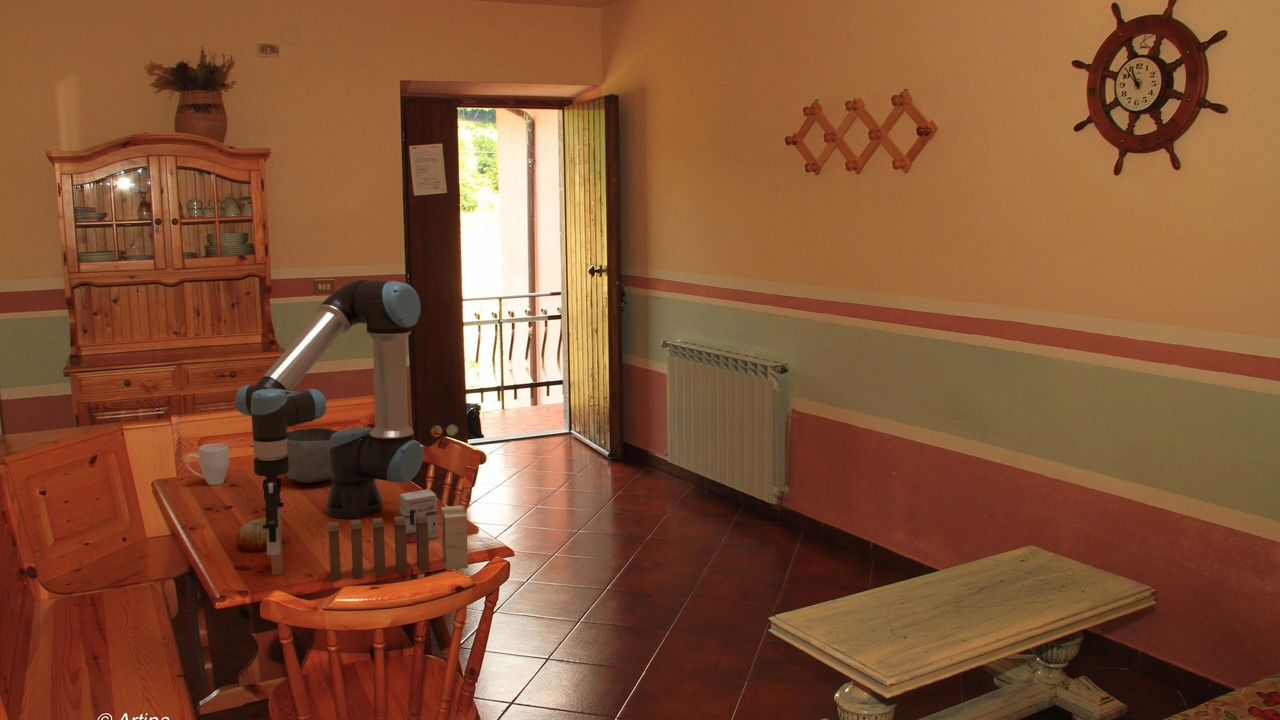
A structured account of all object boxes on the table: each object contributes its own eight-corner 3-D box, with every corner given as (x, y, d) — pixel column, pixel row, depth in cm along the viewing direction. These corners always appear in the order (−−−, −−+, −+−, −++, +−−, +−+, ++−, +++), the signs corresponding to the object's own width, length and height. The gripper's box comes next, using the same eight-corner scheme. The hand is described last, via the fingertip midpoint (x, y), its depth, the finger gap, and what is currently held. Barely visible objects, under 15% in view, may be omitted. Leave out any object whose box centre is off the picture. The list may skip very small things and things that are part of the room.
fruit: (245, 535, 255) (252, 507, 254) (283, 547, 255) (291, 519, 254) (226, 550, 244) (234, 520, 243) (266, 562, 244) (275, 533, 243)
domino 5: (395, 564, 238) (394, 516, 236) (405, 563, 238) (403, 515, 236) (397, 573, 232) (396, 525, 230) (407, 572, 233) (405, 524, 231)
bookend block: (442, 558, 242) (441, 507, 240) (463, 555, 244) (462, 505, 241) (446, 570, 235) (445, 517, 232) (467, 567, 236) (466, 515, 234)
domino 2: (330, 571, 233) (328, 522, 231) (340, 570, 234) (338, 521, 232) (330, 581, 228) (328, 531, 225) (340, 579, 228) (338, 530, 226)
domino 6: (417, 562, 239) (415, 514, 237) (426, 561, 240) (425, 514, 238) (419, 571, 234) (418, 522, 232) (429, 570, 234) (427, 522, 232)
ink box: (406, 543, 251) (405, 499, 249) (399, 537, 256) (398, 493, 253) (438, 537, 256) (437, 493, 254) (431, 531, 260) (430, 488, 258)
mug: (227, 477, 305) (224, 441, 303) (233, 484, 299) (230, 447, 297) (185, 483, 299) (182, 447, 297) (190, 491, 292) (187, 453, 290)
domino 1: (273, 566, 236) (270, 518, 234) (282, 565, 236) (280, 517, 234) (272, 575, 230) (269, 526, 228) (282, 574, 231) (279, 525, 229)
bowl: (336, 491, 293) (334, 442, 290) (267, 490, 293) (264, 441, 291) (356, 471, 313) (354, 425, 311) (292, 470, 313) (290, 424, 311)
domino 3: (352, 569, 235) (350, 520, 233) (362, 568, 235) (360, 519, 233) (353, 578, 229) (351, 529, 227) (363, 577, 230) (361, 528, 228)
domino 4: (374, 566, 236) (372, 518, 234) (383, 565, 237) (382, 517, 235) (375, 576, 231) (374, 527, 229) (385, 575, 231) (383, 526, 229)
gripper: (256, 444, 239) (260, 528, 242) (250, 471, 216) (254, 564, 219) (289, 442, 241) (292, 526, 245) (286, 469, 218) (290, 561, 221)
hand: (274, 544), depth 232 cm, fingers open, 13 cm apart
